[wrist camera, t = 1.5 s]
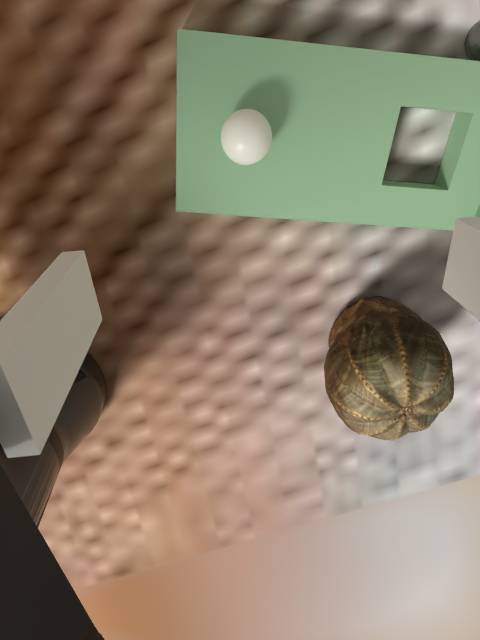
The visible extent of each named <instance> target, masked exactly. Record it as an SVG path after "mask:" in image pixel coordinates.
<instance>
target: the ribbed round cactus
mask: <svg viewBox="0 0 480 640" xmlns="http://www.w3.org/2000/svg"><path fill="white" fill-rule="evenodd" d="M324 372H325V386H326V391H327V394H328V397H329V399H330V401H331V403H332V405H333V406H334V408H335V410H336V412H337V414H338V415H339V417H340V418H341V419H342V420H343V421H344V423H345V424H346V425H347V426H348V427H349V428H350V429H351V430H353V431H354V432H356V433H358V434H362V435H369V436H372V437H375V438H378V439H383V440H395V439H398V438H400V437H402V436H404V435H405V434H407V433H409V432H417V431H422V430H425V429H427V428H428V427H429V426H430V424H431V423H432V422H433V421H434V420H435V419H436V417H437V416H438V414H439V413H440V412H442V411H443V410H444V409H445V408H446V407H447V406H448V404H449V403H450V402H451V401H452V399H453V395H454V378H453V372H452V358H451V355H450V352H449V350H448V348H447V346H446V344H445V343H444V341H443V339H442V337H441V335H440V333H439V332H438V331H437V330H436V329H434V328H433V327H432V326H431V325H429V324H428V323H426V322H425V321H423V320H422V319H421V318H420V317H419V316H418V315H417V314H416V313H414V312H413V311H412V310H410V309H409V308H407V307H405V306H404V305H402V304H400V303H397V302H394V301H392V300H390V299H387V298H384V297H382V296H376V297H372V298H364V299H361V300H360V301H359V302H358V303H357V304H355V305H354V306H352V307H349V308H345V310H344V312H343V313H342V314H341V315H340V316H339V317H338V319H337V320H336V321H335V322H334V324H333V326H332V328H331V332H330V335H329V350H328V353H327V357H326V361H325V364H324Z"/></svg>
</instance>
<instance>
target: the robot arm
mask: <svg viewBox="0 0 480 640" xmlns="http://www.w3.org/2000/svg"><path fill="white" fill-rule="evenodd" d="M442 289H443V290H444V291H445V292H447V293H448V294H449V295H450V296H451V297H452V298H454V299H455V300H456V301H457V302H458V303H459V304H461V305H462V306H463V307H464V308H465V309H466V310H468V311H469V312H470V313H471V314H472V315H473V316H475V317H476V318H477V319H478V320H479V321H480V218H479V217H466V218H456V220H455V225H454V230H453V235H452V240H451V245H450V251H449V256H448V261H447V266H446V271H445V276H444V281H443V286H442ZM101 321H102V315H101V311H100V308H99V304H98V300H97V296H96V293H95V289H94V285H93V282H92V278H91V274H90V270H89V267H88V263H87V259H86V255H85V252H84V250H81V251H69V252H62V253H61V254H60V255H59V256H58V257H57V258H56V259H55V260H54V261H53V263H52V264H51V265H50V266H49V267H48V268H47V269H46V270H45V271H44V273H43V274H42V275H41V276H40V277H39V278H38V279H37V280H36V281H35V283H34V284H33V285H32V286H31V287H30V288H29V289H28V290H27V292H26V293H25V294H24V295H23V296H22V297H21V298H20V299H19V300H18V302H17V303H16V304H15V305H14V306H13V307H12V308H11V309H10V310H9V312H8V313H7V314H6V315H5V316H4V317H3V318H2V319H1V320H0V640H104V638H103V637H102V635H101V634H100V633H98V631H97V629H96V628H95V626H94V624H93V623H92V621H91V619H90V618H89V616H88V614H87V612H86V611H85V609H84V607H83V605H82V604H81V602H80V600H79V598H78V597H77V595H76V593H75V592H74V590H73V588H72V586H71V585H70V583H69V581H68V580H67V578H66V576H65V574H64V573H63V571H62V569H61V567H60V566H59V564H58V562H57V561H56V559H55V557H54V555H53V554H52V552H51V550H50V548H49V547H48V545H47V543H46V542H45V540H44V538H43V536H42V535H41V533H40V531H39V529H38V526H39V523H40V521H41V518H42V515H43V513H44V510H45V507H46V505H47V502H48V500H49V497H50V494H51V492H52V489H53V486H54V484H55V481H56V478H57V476H58V473H59V471H60V468H61V466H62V463H63V461H64V460H65V459H66V458H67V457H68V456H69V455H70V454H71V453H72V452H73V451H74V450H75V448H76V447H77V446H78V445H79V444H80V443H81V442H82V441H83V439H84V438H85V437H86V436H87V435H88V434H89V433H90V432H91V431H92V430H93V428H94V427H95V425H96V423H97V422H98V420H99V417H100V414H101V412H102V409H103V406H104V403H105V398H106V385H105V380H104V377H103V374H102V372H101V370H100V368H99V366H98V365H97V363H96V362H95V360H94V359H93V358H92V357H91V356H90V354H89V353H88V350H89V348H90V345H91V343H92V341H93V339H94V337H95V334H96V332H97V330H98V328H99V326H100V324H101Z"/></svg>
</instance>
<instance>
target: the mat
mask: <svg viewBox="0 0 480 640" xmlns="http://www.w3.org/2000/svg"><path fill="white" fill-rule="evenodd" d="M401 106H404V107H414V108H425V109H435V110H446V111H456V112H457V113H456V116H455V120H454V123H453V126H452V129H451V133H450V136H449V139H448V142H447V146H446V149H445V152H444V155H443V159H442V162H441V165H440V168H439V172H438V175H437V178H436V181H435V184H424V183H411V182H398V181H386V180H383V177H384V173H385V169H386V165H387V161H388V157H389V153H390V149H391V145H392V141H393V137H394V133H395V129H396V125H397V121H398V117H399V112H400V108H401ZM240 109H253V110H256V111H258V112H260V113H261V114H262V115H263V116H264V117H265V118H266V119H267V121H268V122H269V124H270V127H271V130H272V143H271V147H270V149H269V151H268V153H267V154H266V156H265V157H264V158H263V159H261V160H260V161H259V162H257V163H254V164H251V165H241V164H238V163H236V162H234V161H232V160H231V159H230V158H229V157H228V156H227V155H226V153H225V152H224V150H223V147H222V144H221V130H222V127H223V124H224V122H225V121H226V119H227V118H228V117H229V116H230V115H231V114H232V113H234V112H235V111H237V110H240ZM176 211H178V212H193V213H207V214H222V215H237V216H251V217H266V218H280V219H295V220H309V221H324V222H338V223H353V224H367V225H382V226H396V227H411V228H425V229H440V230H454V225H455V220H456V218H466V217H479V218H480V61H473V60H464V59H455V58H445V57H436V56H427V55H418V54H408V53H399V52H390V51H381V50H371V49H362V48H353V47H344V46H334V45H325V44H316V43H307V42H297V41H288V40H279V39H270V38H260V37H251V36H242V35H233V34H223V33H214V32H205V31H196V30H186V29H177V106H176Z"/></svg>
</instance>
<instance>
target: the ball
mask: <svg viewBox="0 0 480 640" xmlns="http://www.w3.org/2000/svg"><path fill="white" fill-rule="evenodd" d="M271 143H272V130H271V127H270V124H269V122H268V121H267V119H266V118H265V117H264V116H263V115H262V114H261V113H260V112H258V111H256V110H253V109H240V110H237V111H235V112H234V113H232V114H231V115H230V116H229V117H228V118H227V119H226V121H225V122H224V124H223V127H222V130H221V144H222V147H223V150H224V152H225V153H226V155H227V156H228V157H229V158H230V159H231V160H232V161H234V162H236V163H238V164H241V165H251V164H254V163H257V162H259V161H260V160H261V159H263V158H264V157H265V156H266V154H267V153H268V151H269V149H270V147H271Z"/></svg>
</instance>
